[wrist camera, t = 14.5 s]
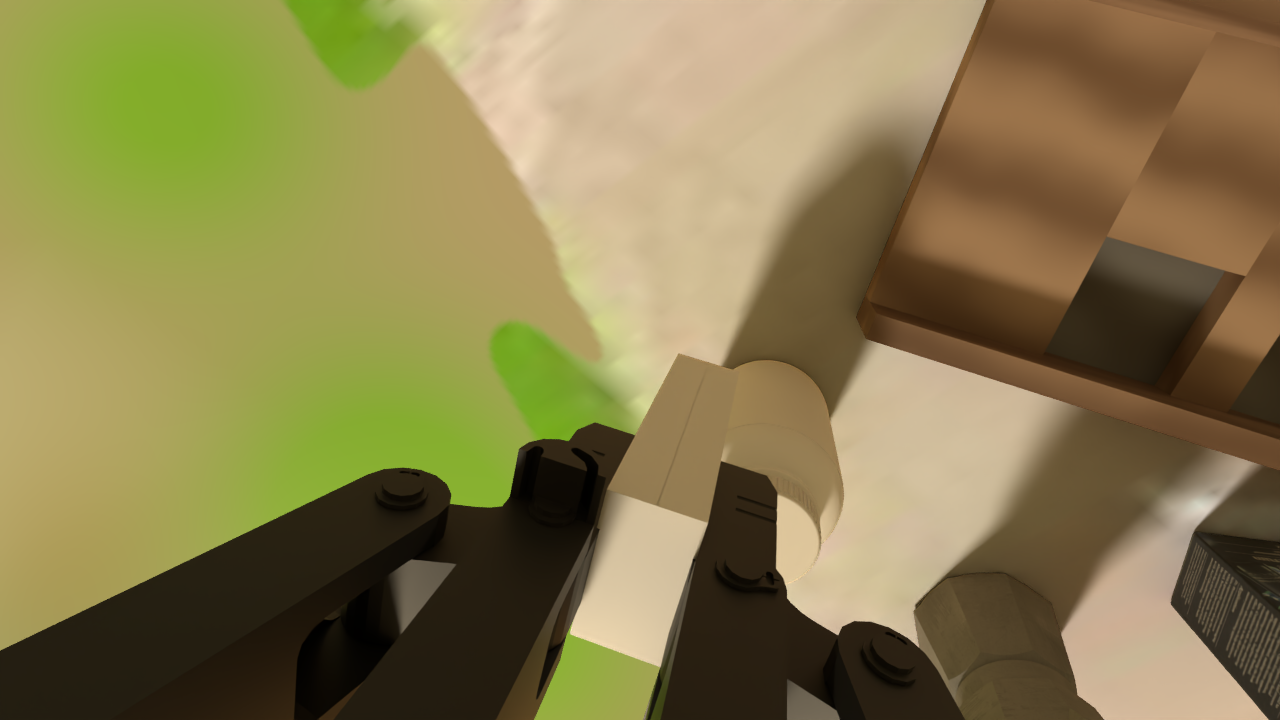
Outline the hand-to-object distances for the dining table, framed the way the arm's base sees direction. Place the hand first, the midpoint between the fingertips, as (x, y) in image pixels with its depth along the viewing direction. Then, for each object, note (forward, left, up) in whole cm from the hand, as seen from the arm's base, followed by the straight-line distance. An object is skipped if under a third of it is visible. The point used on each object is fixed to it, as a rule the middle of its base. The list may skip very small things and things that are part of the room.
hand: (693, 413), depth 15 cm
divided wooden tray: (-8, +25, -26) cm, 37 cm away
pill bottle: (+10, +5, -26) cm, 28 cm away
